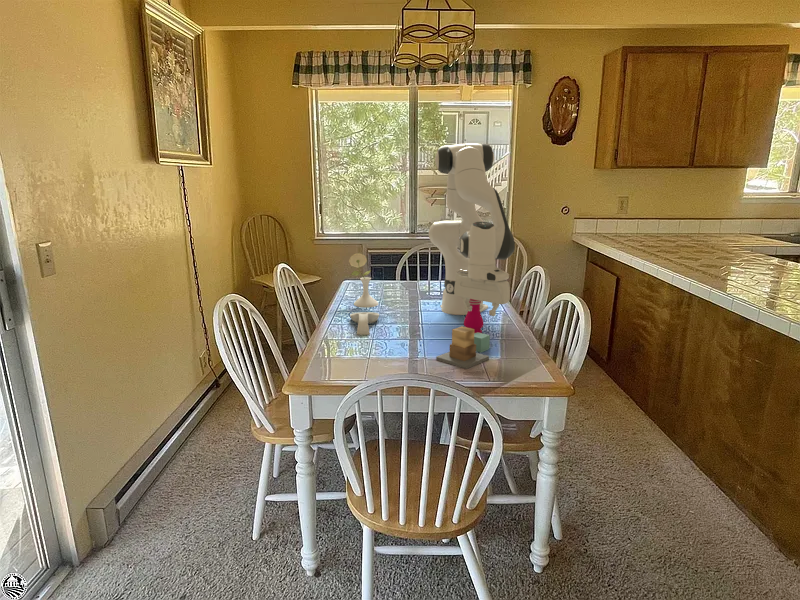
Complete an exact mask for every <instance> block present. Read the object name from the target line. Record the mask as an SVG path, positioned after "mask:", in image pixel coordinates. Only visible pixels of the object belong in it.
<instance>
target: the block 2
mask: <svg viewBox="0 0 800 600" xmlns="http://www.w3.org/2000/svg"><path fill="white" fill-rule="evenodd" d="M490 339H491V334H490V335H489V334H487V333H483V332H482V333H479V332H477V333H474V344H476V353H480V354H482V353H483V352H485V351H488V350H490V348H491V347H490V343H491V342H490V341H491V340H490Z"/></svg>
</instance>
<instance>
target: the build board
mask: <svg viewBox="0 0 800 600" xmlns="http://www.w3.org/2000/svg"><path fill="white" fill-rule="evenodd" d="M449 353H450V351H448V352H444V353H442V354H439V355H437V356H436V357H435V359H436V360H437V361H438V362H439V361H440V362H443V363H445V364H449V365H453V366H456V367H459V368H462V369H466V370H468V369H470V368H473V367H475V366H477V365H479V364H481V363H483V362H485V361H487V360H489V359H490V356H489V355H486V354H483V353H480V352H476V356H475V357H473V358H471V359H468V360H466V361H463V360H459V359H456V358H453V357H449Z"/></svg>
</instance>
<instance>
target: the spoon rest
mask: <svg viewBox="0 0 800 600" xmlns="http://www.w3.org/2000/svg"><path fill="white" fill-rule="evenodd" d="M349 317H350V319H351V320H352V321H353V322H354V323H357V331H356V335H358V336H359V335H360V336H361V335H363V336H365V335H366V336H367V335H371V334H370V327H369V324H373V323H376V322H377V320H378V319H379V317H380V314H379V312H371V311H366V312H364V311H362V312H361V311H359V312H354V313H350V315H349Z"/></svg>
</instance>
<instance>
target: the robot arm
mask: <svg viewBox="0 0 800 600" xmlns="http://www.w3.org/2000/svg"><path fill="white" fill-rule="evenodd" d="M434 157H435V158H434V159H435V160H434V163H435V166H436V168H437V171H438V172H439V173H441V174H445V175H447V178H446V179H447V180H446V206H447V208H448V209H449V210H450V211H451V212H453V213H455V214H457V215H459V216H460V217H461V219H460V220H457V219H456V220H450V219H449V220H446V219H445V220H440V221H439V220H438V221H434V222H432V224H431V225H430V227H429V231H428V239H429V241H430V242H431V244H432V245H434V246H435V247H437V249H438V250H439V252H441V255H442V257H443V259H444V265H445V268H444V269H445V278H444V283H443V284H444V289H443V291H442V292H443V293H442V299H441V304H440V308H441V312H442V313H445V314H447V315H454V316H455V315H456V316H462V315H463V316H466V315H467V313H468V311H472V306H471V305H470V303H469V300H470V299H474V300H480V301H481V304H480V313H482V312H484V311H485V310H488V309H489V305H488V304H485V303H484V302H486V303H490V304H491V306H492V308H491V309H489V310H488V315H489V316H491V317H495V316H497V315H496V313H497V310H498V308H499V307H500V305H505V304H508V303H509V302H510V300H511V288H510V287H511V286H510V282H509V281H508V280H509V277H510V274H509V272H507V271H504V270H502V269H501V268H500V267H497V266H496V260H501V261H505V260H507V259H509V258H510V257H511V256H512V255H513V254H514V253H515V248H516V247H515V246H516V245H515V243H516V242H515V239H514V236H513V232H512V231H511V228H510V226H509V224H508V223H509V222H508V220H507V216H506V214H505V213H506V212H505V209H504V206H503V203H502V199H501V197H500V195H499V193H498V190H497V189H495V188H494V187H493V186H492V185H491V184H490V182H489V180H488V178H487V175H486V172H488V171H490V169H492V167H493V165H494V161H495V154H494V150H493V147H492V146H491V145H490V144H487V143H470V142H469V143H468V142H467V143H465V142H464V143H458V144H451V145H448V144H446V145H441V146H439V147H438V149H437V151H436V153H435V156H434ZM476 205H478V206H480V207H482V208H484V209H485V210H487V211H488V212H489V214H490V217H491V221H492V223H491V222H487V221H484V220H483V219H482V218H481V217H480V215H479V214H478V211H477V208H476ZM458 248H459V251H458Z"/></svg>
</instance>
